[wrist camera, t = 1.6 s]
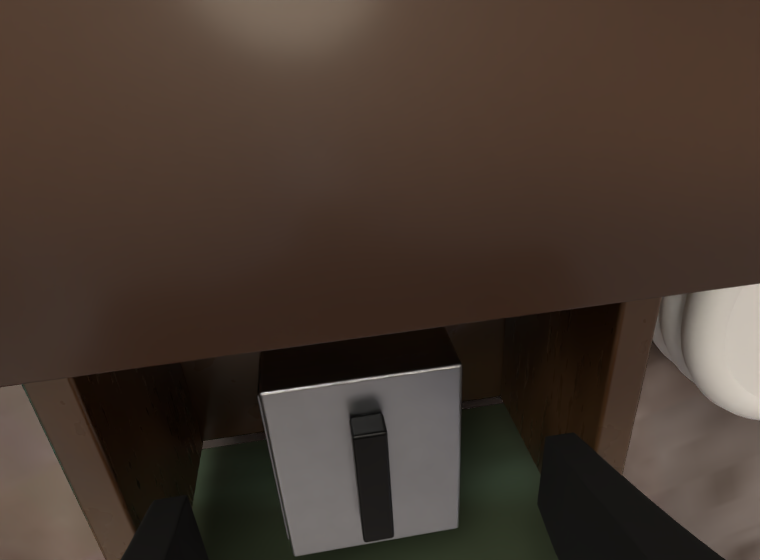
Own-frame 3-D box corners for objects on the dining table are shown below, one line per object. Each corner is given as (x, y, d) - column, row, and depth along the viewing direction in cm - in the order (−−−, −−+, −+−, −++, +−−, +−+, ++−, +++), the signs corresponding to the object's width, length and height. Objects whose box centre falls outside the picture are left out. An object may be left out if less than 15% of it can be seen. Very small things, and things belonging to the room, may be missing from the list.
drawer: (518, 499, 22) (602, 686, 17) (204, 553, 21) (174, 777, 15) (564, 18, 14) (773, 54, 8) (37, 60, 13) (-178, 138, 7)
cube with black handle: (420, 397, 18) (470, 550, 13) (287, 416, 17) (290, 583, 12) (416, 255, 15) (476, 382, 10) (261, 274, 15) (252, 416, 10)
